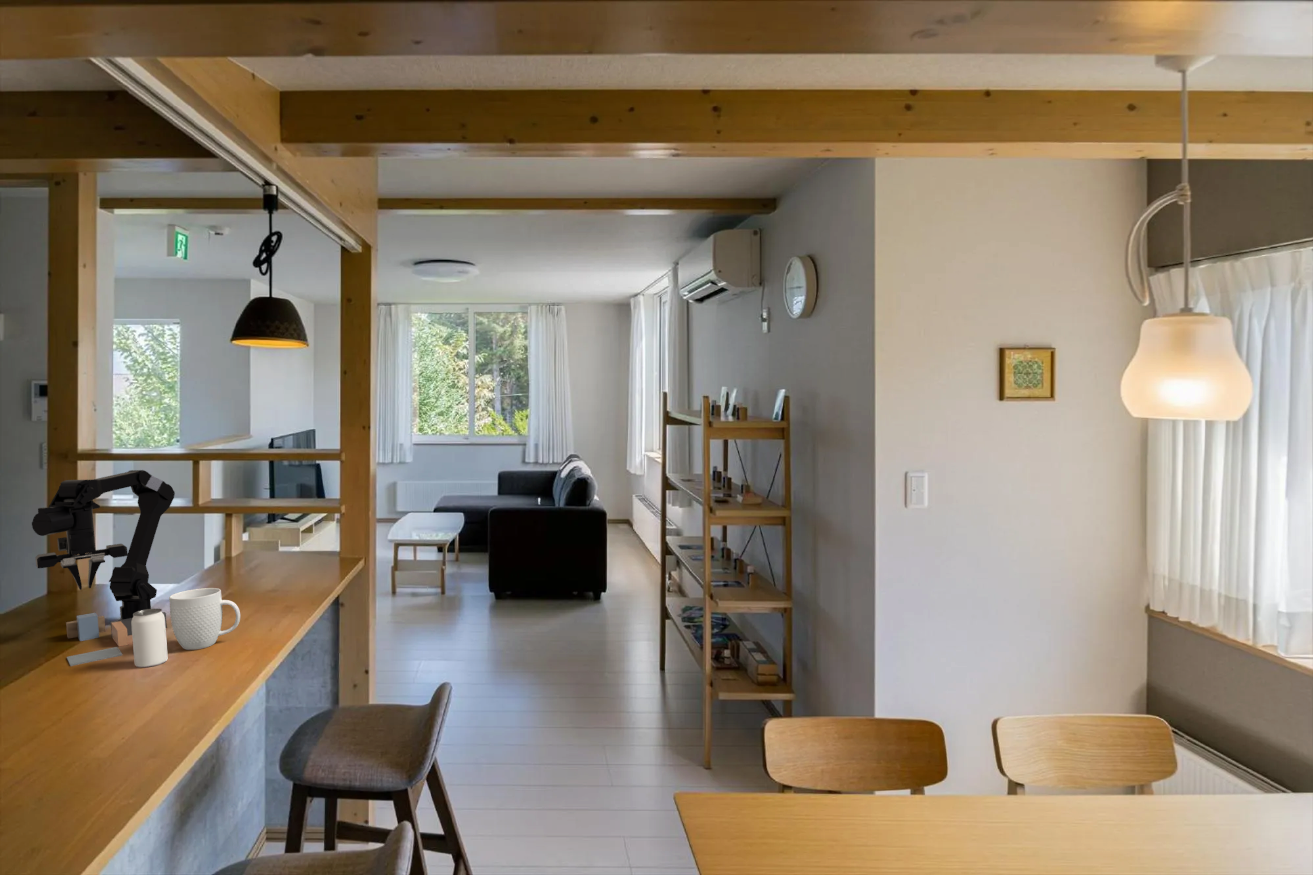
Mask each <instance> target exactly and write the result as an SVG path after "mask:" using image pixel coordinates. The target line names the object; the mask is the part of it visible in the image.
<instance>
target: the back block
mask: <svg viewBox="0 0 1313 875" xmlns="http://www.w3.org/2000/svg"><path fill="white" fill-rule="evenodd" d="M65 625H66V626H65V627H66V638H67V639H69V640H70V639H73V638H78V627H77V620H73V621H72V620H71V621H67V622H66V621H65ZM98 628H99V634H100V633H104V632H106V630H107V629H106V619H105V616H104V615H98Z"/></svg>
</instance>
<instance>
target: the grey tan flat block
mask: <svg viewBox="0 0 1313 875" xmlns="http://www.w3.org/2000/svg"><path fill="white" fill-rule="evenodd" d="M162 613H163V614H164V617H165V627H166V629H167V628H168V626H167V625H168V624H167V613H166V612H165V611H163V612H162ZM131 621H132V618H129V619H123V620H121V619H119V620H114V621H110V629H111V638H112V639H113V641H114V642H115V643H116V645H117V647H124V646H128V645H129V636H132V624H131Z"/></svg>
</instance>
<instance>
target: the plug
mask: <svg viewBox="0 0 1313 875" xmlns="http://www.w3.org/2000/svg"><path fill="white" fill-rule="evenodd" d="M98 617H99V615H98V614H97V613H96V612H93V613H92V612H91V613H86V614H80V615H76V621H77V627H78V637H77V638H78V640H79V642H82V641H83V642H84V641H88V640H89V641H90V640H94V639H98V638H100V633H99V628H98Z"/></svg>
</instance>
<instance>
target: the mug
mask: <svg viewBox="0 0 1313 875" xmlns="http://www.w3.org/2000/svg"><path fill="white" fill-rule="evenodd" d="M168 600H169V615H170V622H171V628H172V630H173V631H172V632H173V633H174V636H175V639H176V640H177V643H178V644H179V645H180V647H182V649H184V650H186V651H194V650H200V649H201V650H202V649H206V648H208V647H211V646H213V645H215V643H216V642H217V640H218V638H219V636H223V635H226V634H229V633H231V632H233V631H234V630H235V629H237V628H238V626H239V624H240V621H241V612H240V611H241V610H240V608H239V606H238V605H237V604H236V602H234V601H232V600H228V599H222V590H221V589H220V588H218V587H217V588H216V587H206V588H205V587H204V588H196V589H188V590H183V591H180V592H176V593H173V594H171V595H170V596H169V598H168ZM224 605H227V606H228V605H229V606H230V607H231V608H232V609H233V611H234V613H235V619H234V620H235V621H234V623H233V625H232V626H231V627H229V628H228V629H227V628H226V629H224V630H221V628H222V624H223V606H224Z"/></svg>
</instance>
